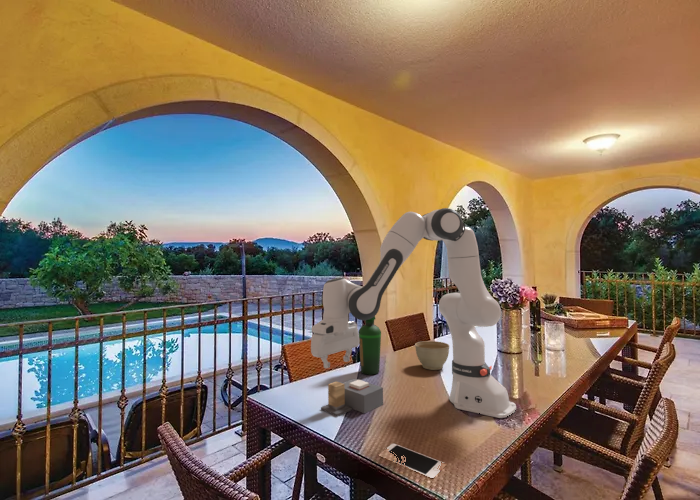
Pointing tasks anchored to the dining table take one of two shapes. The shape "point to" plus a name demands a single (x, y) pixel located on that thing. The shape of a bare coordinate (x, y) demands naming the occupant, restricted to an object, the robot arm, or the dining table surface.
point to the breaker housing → (363, 397)
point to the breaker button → (359, 385)
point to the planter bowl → (432, 354)
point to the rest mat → (336, 413)
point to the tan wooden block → (336, 396)
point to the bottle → (370, 347)
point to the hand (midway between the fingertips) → (337, 364)
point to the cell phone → (416, 460)
